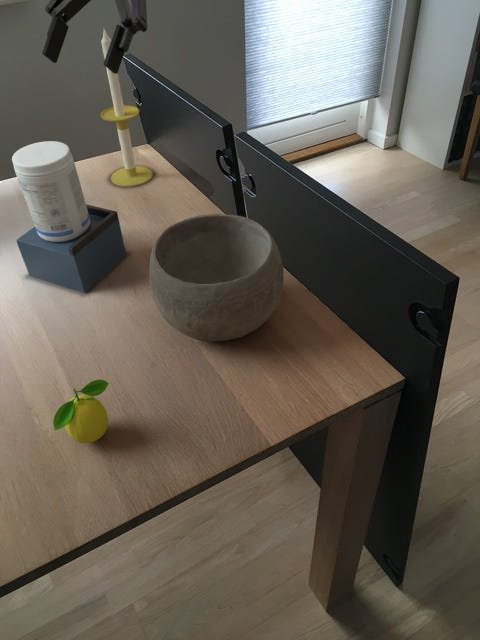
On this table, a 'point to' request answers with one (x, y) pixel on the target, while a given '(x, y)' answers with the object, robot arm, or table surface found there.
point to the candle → (123, 130)
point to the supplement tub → (52, 190)
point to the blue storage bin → (76, 252)
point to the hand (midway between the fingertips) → (78, 63)
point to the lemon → (84, 414)
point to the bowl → (216, 276)
